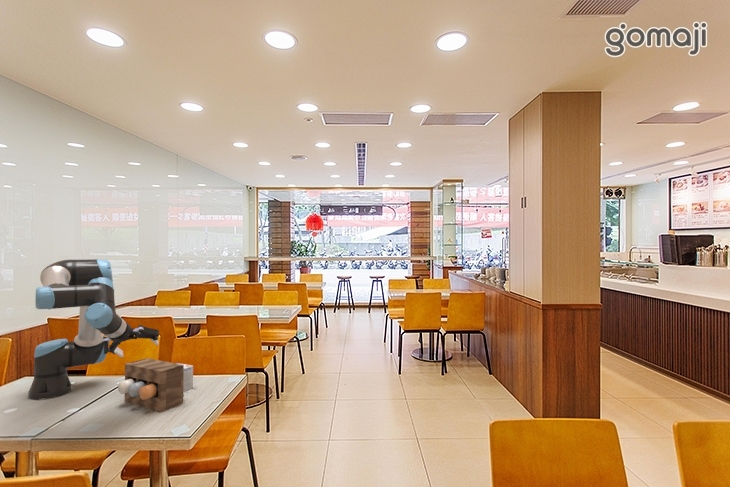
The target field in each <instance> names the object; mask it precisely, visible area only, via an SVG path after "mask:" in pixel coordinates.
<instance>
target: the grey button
mask: <svg viewBox="0 0 730 487" xmlns="http://www.w3.org/2000/svg"><path fill="white" fill-rule="evenodd" d="M146 385H147V383H145V384H144V382H142V381H140V382H137V383H134V384H130V385H129V388H128V392H129V395H130V396H131V397H134V396H137V395H139V390H140V388H141V387H143V386H146Z"/></svg>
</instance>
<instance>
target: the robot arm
mask: <svg viewBox="0 0 730 487" xmlns="http://www.w3.org/2000/svg"><path fill="white" fill-rule="evenodd" d="M39 279H40V283H41V284H42V286H40V287H37V288H36V289H35V300H34V301H35V309H38V310H53V309H67V308H78V307H79V313H78V314H79V316H78V333H77V335H75V337H74V339H73V340H72V341H69V340H68V339H67V338H58V339H54V340H49V341H45V342H42V343H40V344H38V345H36V347H35V348H34V355H33V358H34V363H33V364H34V365H33V366H34V367H33V369H34V370H33V380H32V382H31V385H30V388H29V390H28V394H27V395H28V396H27V398H28V399H30V400H46V399H52V398H56V397H60V396H63V395H66V394H68V393H71V391H72V386H73V385H72V383H71V380H70V378H69V376H68V368H75V367H81V366H87V365H88V366H89V365H95V364H100V363H102V362H104V361H105V359H106V357H107V354H109V353H110V354H113V355H117V356H119V357H120V358H124V350H122V348H119V345H121V343H122V342H124V343H125V342H126V341H129V340H137V339H149V340H150V341H151V342H152V343H153V344H155V345H156V346H159V344H160V343H159V338H158V337H159V336H160V332H159V329H157V328H156V329H155V328H151V327H147V326H144V325H141V324H140V325H138V326H137V327H136V328H134V327H133V328H132V327H131V325H130V324H129V323H127V322H126V320H124V319H123V318H122V317H121V316H120V315H119V314H117V310H116V302H115V289H114V284H113V282H114V281H113V271H112V264H111V262H110V260H108V259H101V258H100V259H99V258H96V259H93V258H92V259H64V260H59V261H56V262H54V263H53V262H52V263H50V264H49V265H47V266H46V267H45V268H43V270H42V271H41V273H40V276H39ZM111 341H112V343H111V344H110V342H111Z"/></svg>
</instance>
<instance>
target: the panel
mask: <svg viewBox="0 0 730 487" xmlns="http://www.w3.org/2000/svg"><path fill="white" fill-rule="evenodd" d="M180 364H181V363H180ZM180 364H176V363H174V362H170V361H163V360H158V359H154V358H149V357H148V358H143V359H140V360H135V361H132V362H131V361H130V362H126V363H124V381H125V380H128V379H133V381H136V383H137V382H140V381H142V382H144V384H145V383H147V385H150V384H154V385H155V386H157V385H158V392H157V393H156V395H155V396H154V397H151V398H148V399H145V400H142V399H141V398H140V395H137V396H134V397H131V396H130V395H129V392H127V393H124V403H127V404H130V405H135V406H138V407H141V408H145V409H148V410H152V411H155V412H159V413H163V412H166V411H169V410H170V409H173V408H175V407H176V408H177V406H180V405H183V404H184V392H183V378H184V365H180Z"/></svg>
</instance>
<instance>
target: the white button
mask: <svg viewBox="0 0 730 487" xmlns="http://www.w3.org/2000/svg"><path fill="white" fill-rule="evenodd" d="M134 383H136V381H133V379H128V380H125V379H124V380H122V381H120V382H118V384H117V390H118V393H119V394H121V395H125V393H127V392H128V388H129V385H130V384H134Z"/></svg>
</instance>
